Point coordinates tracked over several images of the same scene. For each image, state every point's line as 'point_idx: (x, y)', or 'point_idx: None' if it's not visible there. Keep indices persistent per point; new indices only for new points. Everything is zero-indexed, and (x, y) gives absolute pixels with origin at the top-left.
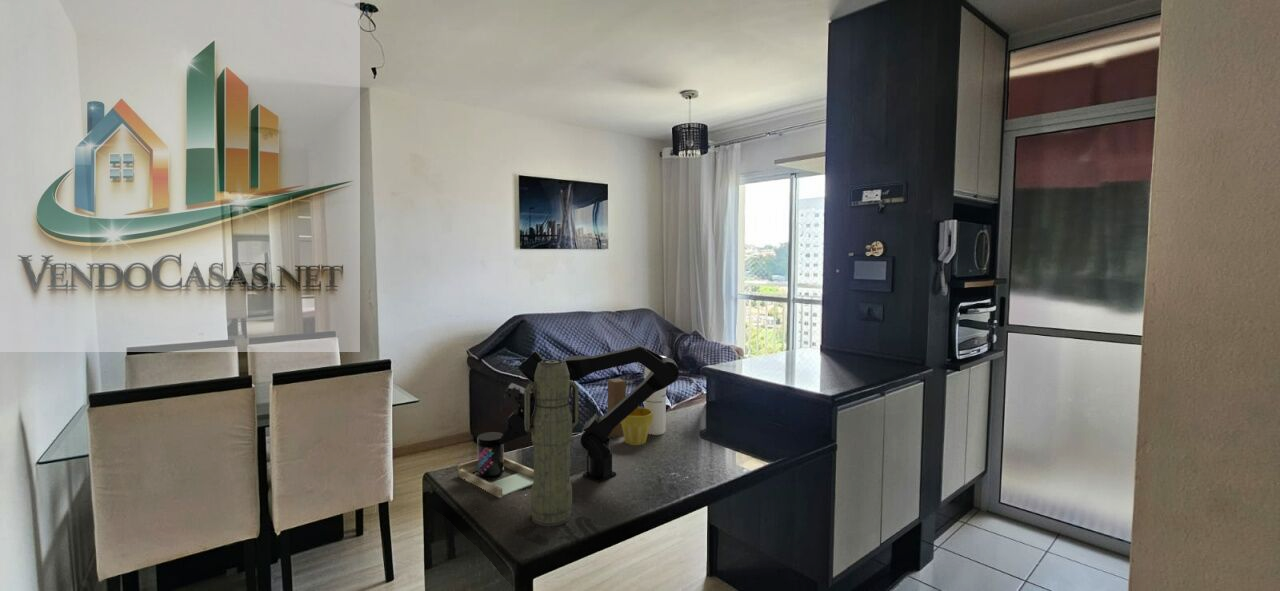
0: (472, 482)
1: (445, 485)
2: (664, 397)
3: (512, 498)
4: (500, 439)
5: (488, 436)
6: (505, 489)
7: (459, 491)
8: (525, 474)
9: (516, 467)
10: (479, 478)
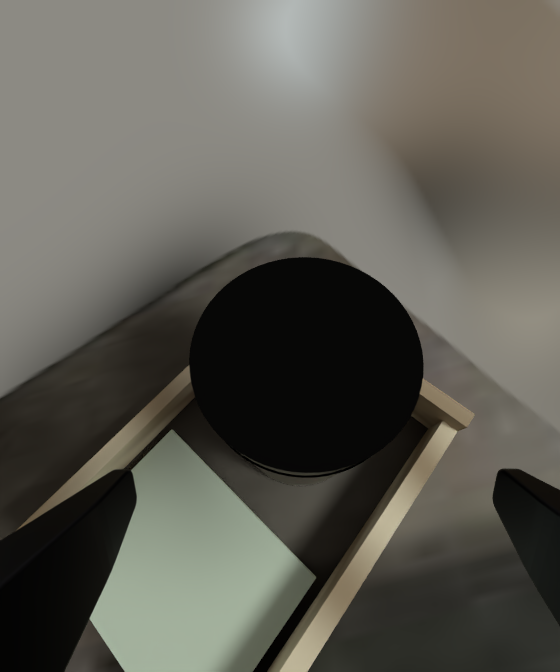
0: None
1: (198, 288)
2: None
3: None
4: (79, 495)
5: (295, 332)
6: None
7: (139, 347)
8: (293, 634)
9: (347, 558)
10: (163, 399)
